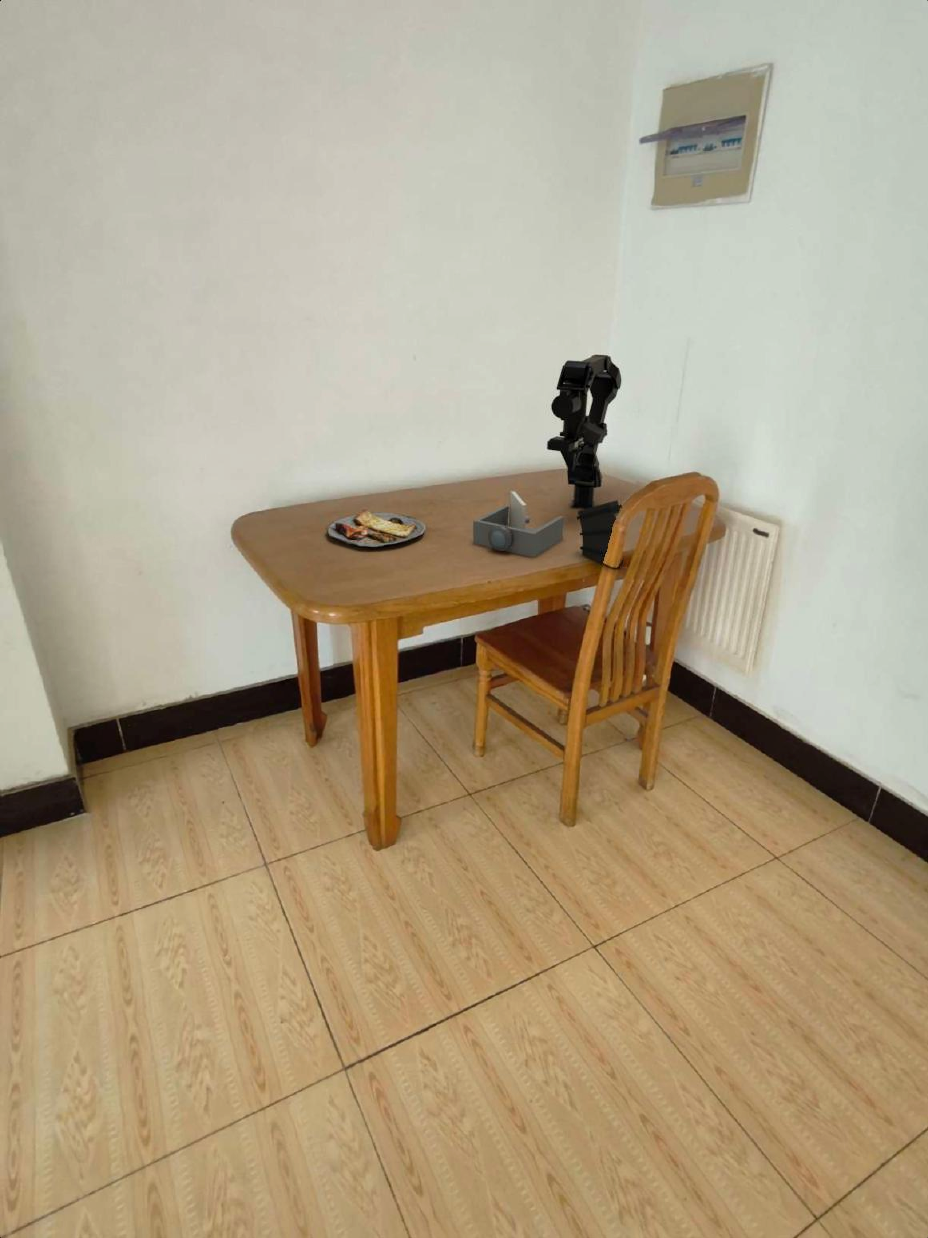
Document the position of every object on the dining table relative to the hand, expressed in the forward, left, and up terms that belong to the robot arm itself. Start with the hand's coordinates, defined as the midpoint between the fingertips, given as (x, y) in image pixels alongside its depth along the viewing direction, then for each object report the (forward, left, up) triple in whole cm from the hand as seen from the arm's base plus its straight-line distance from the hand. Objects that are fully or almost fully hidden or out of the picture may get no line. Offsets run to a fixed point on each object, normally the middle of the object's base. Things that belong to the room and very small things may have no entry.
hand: (571, 471), depth 194 cm
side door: (+17, -12, -12) cm, 24 cm away
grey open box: (+22, -12, -13) cm, 28 cm away
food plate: (+21, -49, -14) cm, 55 cm away
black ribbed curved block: (+30, +8, -13) cm, 34 cm away
